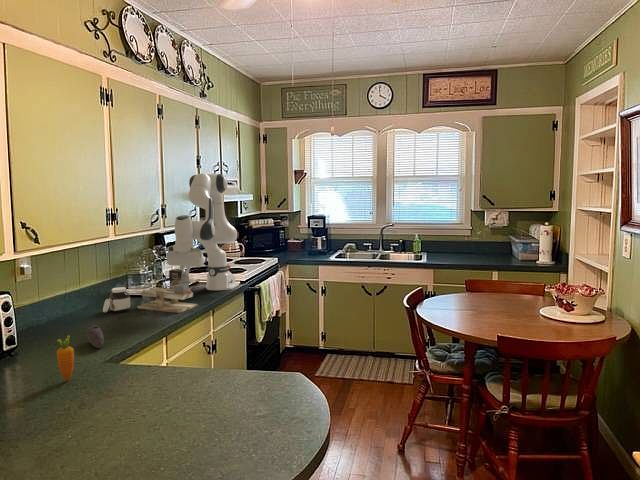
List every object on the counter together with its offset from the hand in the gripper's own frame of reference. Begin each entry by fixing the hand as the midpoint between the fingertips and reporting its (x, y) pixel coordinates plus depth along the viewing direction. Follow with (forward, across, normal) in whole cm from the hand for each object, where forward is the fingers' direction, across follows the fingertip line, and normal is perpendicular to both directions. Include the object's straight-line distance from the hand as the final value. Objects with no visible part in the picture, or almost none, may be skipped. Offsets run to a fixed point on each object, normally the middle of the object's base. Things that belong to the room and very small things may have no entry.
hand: (185, 274), depth 245 cm
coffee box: (+18, +20, -19) cm, 33 cm away
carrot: (+19, -22, +89) cm, 93 cm away
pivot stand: (+18, +13, 0) cm, 22 cm away
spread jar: (+18, +32, +16) cm, 40 cm away
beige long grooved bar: (+14, +13, 0) cm, 19 cm away
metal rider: (+10, +3, 0) cm, 11 cm away
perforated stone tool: (+19, -2, +59) cm, 62 cm away
